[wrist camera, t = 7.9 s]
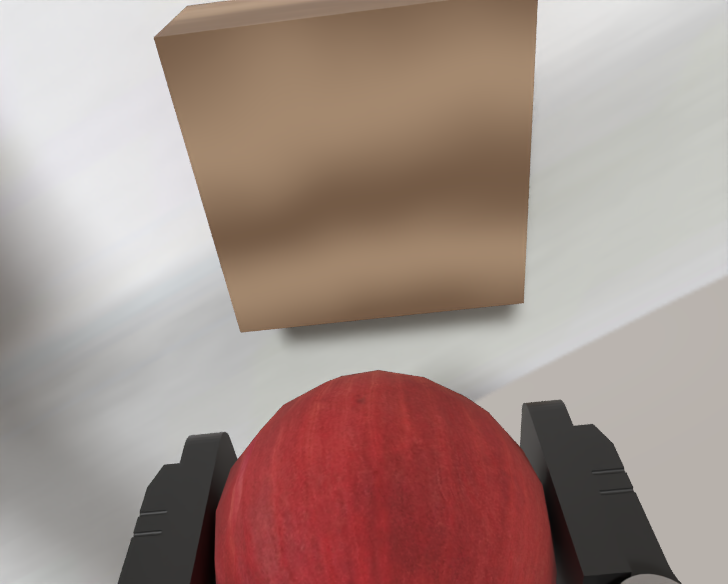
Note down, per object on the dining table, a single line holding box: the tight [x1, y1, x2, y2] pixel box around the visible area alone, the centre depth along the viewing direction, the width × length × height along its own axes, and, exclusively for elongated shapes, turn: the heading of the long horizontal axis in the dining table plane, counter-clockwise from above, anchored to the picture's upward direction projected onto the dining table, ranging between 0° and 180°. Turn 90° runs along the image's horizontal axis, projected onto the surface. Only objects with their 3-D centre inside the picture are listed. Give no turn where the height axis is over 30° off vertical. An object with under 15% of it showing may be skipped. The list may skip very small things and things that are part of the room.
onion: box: [215, 370, 557, 584], centre depth 11 cm, size 6×6×8 cm
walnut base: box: [154, 0, 538, 332], centre depth 25 cm, size 12×12×5 cm
